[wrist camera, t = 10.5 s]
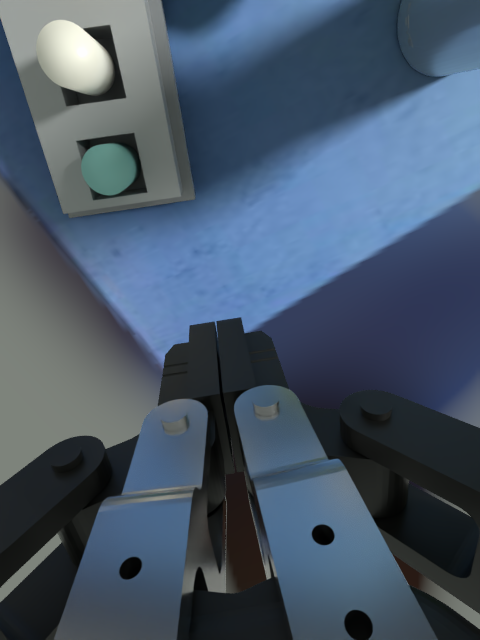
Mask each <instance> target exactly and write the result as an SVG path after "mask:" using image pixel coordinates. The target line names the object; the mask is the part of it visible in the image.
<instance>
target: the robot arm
mask: <svg viewBox="0 0 480 640" xmlns="http://www.w3.org/2000/svg"><path fill="white" fill-rule="evenodd" d="M397 30H398V40H399V44H400V48H401V51H402V53H403V55H404V57H405V59H406V60H407V62H408V63H409V64H410V65H411V67H413V68H414V69H415V70H417V71H418V72H419V73H422V74H424V75H427V76H433V77H441V76H447V75H452V74H456V73H461V72H466V71H471V70H476V69H480V0H402V2H401V5H400V9H399V14H398V22H397ZM217 332H218V337H217ZM231 440H232V445H231ZM232 446H233V451H234V456H235V462H236V468H237V472H242V471H244V472H245V477H246V484H247V490H248V496H249V501H250V506H251V510H252V514H253V519H254V524H255V528H256V532H257V537H258V541H259V546H260V550H261V555H262V559H263V563H264V568H265V572H266V577H267V580H266V581H263V582H261V583H259V584H257V585H255V586H253V587H251V588H249V589H246V590H244V591H242V592H239V593H235V594H230V593H226V583H225V577H226V576H225V575H226V509H227V508H226V507H227V506H226V499H225V492H226V481H225V474H231V473H234V463H233V453H232ZM409 480H410V481H412V482H414V483H416V484H417V485H419V486H421V487H423V488H425V489H427V490H429V491H431V492H432V493H434V494H436V495H438V496H440V497H442V498H443V499H445V500H447V501H449V502H451V503H453V504H455V505H457V506H458V507H460V508H462V509H463V510H464V511H466V512H467V513H468V514H469V515H470V516H471V517H470V516H468V515H466V514H465V513H463V512H461V511H459V510H457V509H455V508H453V507H452V506H450V505H448V504H446V503H444V502H442V501H441V500H439V499H437V498H435V497H433V496H431V495H429V494H428V493H426V492H424V491H422V490H420V489H418V488H416V487H415V486H412V485H411V484H409ZM57 533H58V535H59V537H60V539H61V541H62V543H61V544H60V545H59V546H58V547H57V548H56V549H55V550H54V551H53V552H52V553H51V554H50V555H49V556H48V557H47V558H46V559H45V560H44V561H42V563H41V564H40V565H38V566H37V567H36V568H35V569H34V570H33V571H32V572H31V573H30V574H29V575H28V576H27V577H26V578H25V579H24V580H23V581H22V582H21V583H20V584H19V585H18V586H17V587H16V588H15V589H14V590H13V591H12V592H11V593H10V594H9V595H8V596H7V597H6V598H5V599H4V600H3V601H1V602H0V640H480V629H478V628H477V627H476V626H474V625H473V624H472V623H470V622H469V621H467V620H466V619H465V618H464V617H462V616H461V615H460V614H458V613H457V612H456V611H454V610H453V609H451V608H450V607H449V606H447V605H446V604H444V603H442V602H441V601H439V600H437V599H436V598H434V597H432V596H431V595H429V594H427V593H425V592H423V591H421V590H419V589H417V588H415V587H412V586H410V585H408V584H407V581H406V579H405V578H404V576H403V574H402V572H401V570H400V568H399V566H398V565H397V563H396V561H395V559H394V557H393V555H395V556H396V557H398V558H400V559H401V560H402V561H404V562H405V563H407V564H408V565H409V566H411V567H412V568H414V569H415V570H417V571H418V572H420V573H421V574H423V575H424V576H426V577H427V578H428V579H430V580H431V581H433V582H434V583H436V584H437V585H439V586H440V587H441V588H443V589H444V590H446V591H448V592H449V593H450V594H452V595H453V596H455V597H456V598H457V599H459V600H460V601H462V602H463V603H465V604H466V605H468V606H469V607H471V608H472V609H473V610H475V611H476V612H478V613H479V614H480V428H478V427H475V426H473V425H470V424H468V423H465V422H463V421H460V420H458V419H455V418H452V417H450V416H447V415H445V414H442V413H440V412H437V411H435V410H432V409H430V408H427V407H424V406H422V405H419V404H417V403H415V402H412V401H409V400H407V399H404V398H402V397H399V396H397V395H394V394H391V393H388V392H384V391H378V390H365V391H360V392H356V393H353V394H351V395H349V396H348V397H346V398H345V399H344V400H343V401H342V403H341V405H340V409H324V408H316V407H311V406H309V405H306V404H304V403H301V402H300V401H299V400H298V398H297V396H296V395H295V394H294V393H293V392H292V391H291V390H289V387H288V384H287V382H286V379H285V376H284V373H283V370H282V367H281V364H280V361H279V359H278V356H277V353H276V350H275V347H274V344H273V341H272V339H271V338H270V337H269V336H268V335H266V334H265V333H264V332H262V331H257V332H251V333H244V329H243V325H242V320H241V317H240V318H234V319H227V320H221V321H217V331H216V326H215V322H209V323H202V324H196V325H190V330H189V342H188V343H181V344H175V345H173V347H172V348H171V349H170V350H169V351H168V353H167V354H166V355H165V362H164V368H163V377H162V382H161V388H160V395H159V402H158V407H156V408H155V409H153V410H152V411H151V412H150V413H149V414H148V415H147V416H146V418H145V419H144V422H143V425H142V428H141V432H140V434H139V435H137V436H135V437H134V438H132V439H130V440H127V441H125V442H122V443H120V444H117V445H115V446H112V447H110V448H107V449H105V447H104V445H103V443H102V442H101V440H99V439H98V438H96V437H92V436H77V437H73V438H69V439H66V440H64V441H62V442H59V443H58V444H56V445H54V446H52V447H51V448H49V449H48V450H47V451H45V452H44V453H43V454H41V455H40V456H39V457H37V458H36V459H35V460H33V461H32V462H31V463H29V464H28V465H27V466H25V467H24V468H23V469H21V470H20V471H19V472H18V473H16V474H15V475H14V476H12V477H11V478H10V479H8V480H7V481H6V482H4V483H3V484H2V485H0V587H1V586H2V585H3V584H4V583H5V582H6V581H7V580H8V579H9V578H10V577H11V576H12V575H13V574H15V573H16V572H17V571H18V570H19V569H20V568H21V567H22V566H23V565H24V564H25V563H26V562H27V561H28V560H29V559H30V558H31V557H32V556H34V555H35V554H36V553H37V552H38V551H39V550H40V549H41V548H42V547H43V546H44V545H45V544H46V543H47V542H48V541H49V540H50V539H51V538H53V537H54V536H55V535H56V534H57ZM392 554H393V555H392Z"/></svg>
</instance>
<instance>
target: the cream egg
mask: <svg viewBox="0 0 480 640" xmlns="http://www.w3.org/2000/svg"><path fill="white" fill-rule="evenodd" d="M36 52H37V57H38V61H39V64H40V66H41V68H42V70H43V71H44V73H45V74H46V75H47V76H48V77H49V78H50V79H51V80H52V81H53V82H54V83H56V84H57V85H59V86H61V87H64V88H67V89H70V90H74V91H77V92H80V93H83V94H86V95H90V96H99V95H102V94H104V93H106V92H107V91H108V90H109V89H110V88H111V86H112V85H113V82H114V79H115V66H114V62H113V60H112V58H111V56H110V54H109V53H108V51H107V50H106V49H105V48H104V47H103V46H102V45H101V44H99V43H98V42H97V41H96V40H95V39H94V38H92V37H91V36H90V35H89V34H88V33H87V32H85V31H84V30H83V29H82V28H81V27H79V26H78V25H76V24H75V23H73V22H70V21H67V20H55V21H52V22H50V23H48V24H47V25H45V26H44V27H43V29H42V30H41V31H40V33H39V35H38V38H37V44H36Z"/></svg>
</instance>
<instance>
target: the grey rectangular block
mask: <svg viewBox="0 0 480 640" xmlns="http://www.w3.org/2000/svg"><path fill="white" fill-rule="evenodd" d="M0 18H1V21H2V24H3V27H4V31H5V34H6V37H7V40H8V43H9V46H10V49H11V52H12V55H13V59H14V62H15V65H16V68H17V71H18V74H19V77H20V80H21V83H22V87H23V90H24V93H25V96H26V99H27V102H28V105H29V108H30V111H31V115H32V118H33V121H34V124H35V127H36V130H37V133H38V136H39V139H40V143H41V146H42V149H43V152H44V155H45V158H46V161H47V164H48V167H49V171H50V174H51V177H52V180H53V183H54V186H55V189H56V192H57V195H58V198H59V202H60V205H61V208H62V211H63V214H66V213H68V215H69V218H73V217H80V216H86V215H93V214H100V213H107V212H113V211H120V210H127V209H134V208H140V207H147V206H154V205H161V204H167V203H174V202H181V201H188V200H194V199H195V189H194V183H193V177H192V172H191V166H190V160H189V154H188V148H187V142H186V137H185V131H184V125H183V119H182V113H181V108H180V102H179V96H178V90H177V84H176V79H175V73H174V67H173V61H172V55H171V49H170V44H169V38H168V32H167V26H166V20H165V15H164V9H163V3H162V0H0ZM55 20H67V21H70V22H73V23H75V24H76V25H78V26H79V27H81V28H82V29H83V30H84V31H85V32H87V33H88V34H89V35H90V36H91V37H92V38H94V39H95V40H96V41H97V42H98V43H99V44H101V45H102V46H103V47H104V48H105V49H106V50H107V51H108V53H109V54H110V56H111V58H112V60H113V62H114V66H115V79H114V82H113V85H112V86H111V88H110V89H109V90H108V91H107V92H106V93H104V94H102V95H99V96H90V95H86V94H83V93H80V92H77V91H74V90H70V89H67V88H64V87H61V86H59V85H57V84H56V83H54V82H53V81H52V80H51V79H50V78H49V77H48V76H47V75H46V74H45V73H44V71H43V70H42V68H41V66H40V64H39V61H38V57H37V52H36V44H37V38H38V35H39V33H40V31H41V30H42V29H43V27H44V26H45V25H47V24H48V23H50V22H52V21H55ZM114 142H121V143H125V144H127V145H129V146H131V147H132V148H133V149H134V150H135V151H136V153H137V154H138V156H139V158H140V161H141V171H140V174H139V176H138V178H137V179H136V180H135V181H134V182H133V183H132V184H131V185H129V186H128V187H127V188H126V189H124V190H123V191H122V192H120V193H118V194H116V195H103V194H100V193H98V192H96V191H94V190H93V189H92V188H91V187H89V185H88V184H87V183H86V181H85V180H84V177H83V175H82V170H81V163H82V159H83V156H84V154H85V153H86V152H87V151H88V150H89V149H90V148H92V147H93V146H96V145H101V144H108V143H114Z"/></svg>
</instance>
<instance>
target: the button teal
mask: <svg viewBox="0 0 480 640" xmlns="http://www.w3.org/2000/svg"><path fill="white" fill-rule="evenodd" d="M81 170H82V175H83V177H84V180H85V181H86V183H87V184H88V185H89V187H91V188H92V189H93V190H94V191H96V192H98V193H100V194H103V195H116V194H118V193H120V192H122V191H123V190H124V189H126V188H127V187H128V186H129V185H131V184H132V183H133V182H134V181H135V180H136V179H137V178H138V176H139V174H140V171H141V161H140V158H139V156H138V154H137V153H136V151H135V150H134V149H133V148H132V147H131V146H129V145H127V144H125V143H121V142H114V143H108V144H101V145H96V146H93V147H92V148H90V149H89V150H88V151H87V152H86V153H85V154H84V156H83V159H82V163H81Z"/></svg>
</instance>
